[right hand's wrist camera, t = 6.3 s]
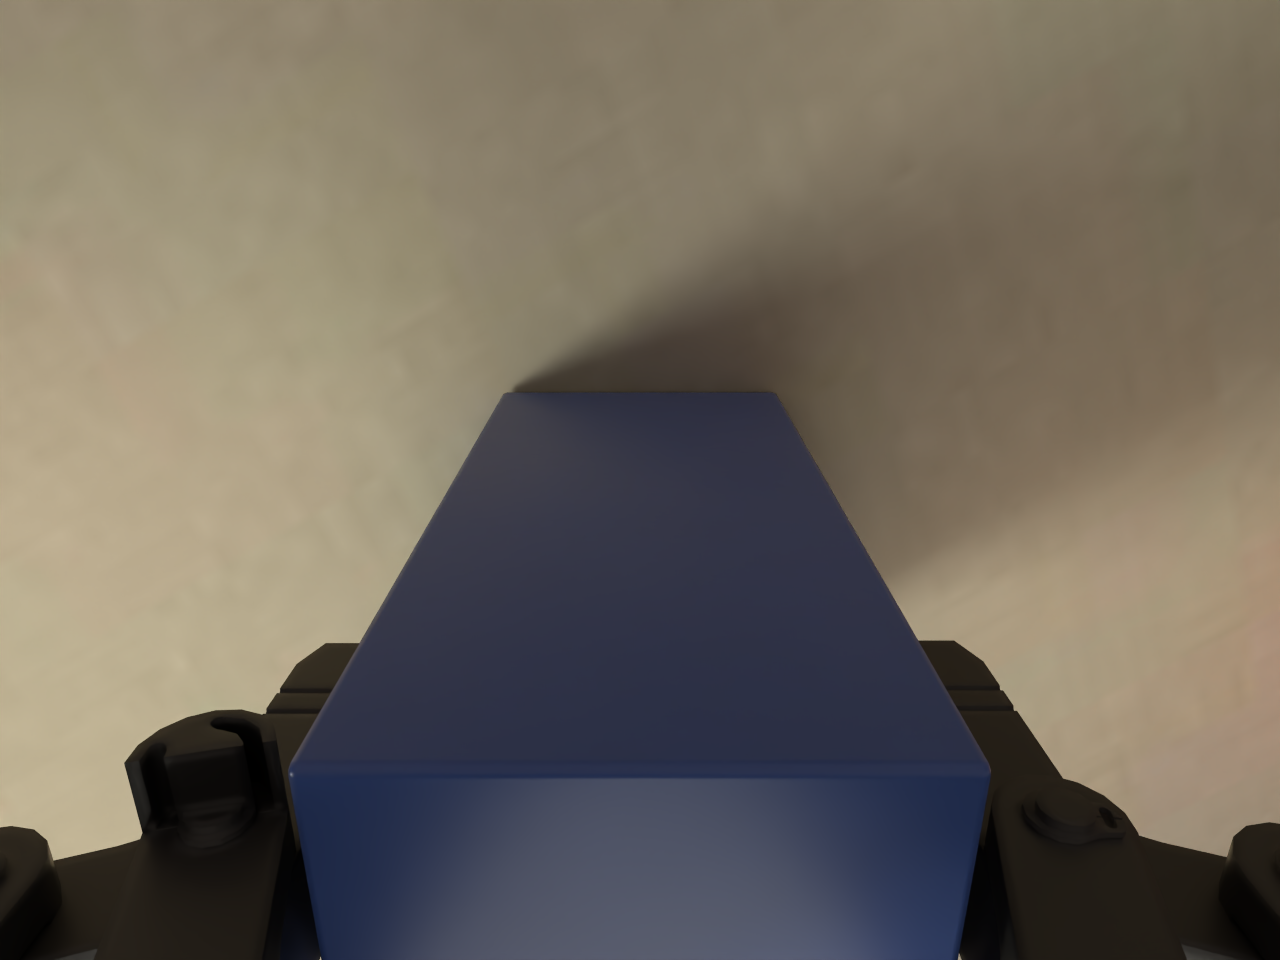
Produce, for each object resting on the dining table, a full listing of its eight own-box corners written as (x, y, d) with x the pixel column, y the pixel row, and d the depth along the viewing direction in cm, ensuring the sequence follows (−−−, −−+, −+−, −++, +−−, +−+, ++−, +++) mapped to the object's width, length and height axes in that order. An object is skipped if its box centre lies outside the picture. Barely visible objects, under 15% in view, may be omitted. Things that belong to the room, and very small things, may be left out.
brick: (777, 391, 15) (997, 768, 6) (761, 654, 17) (909, 1256, 8) (502, 391, 15) (280, 768, 6) (518, 654, 17) (369, 1256, 8)
